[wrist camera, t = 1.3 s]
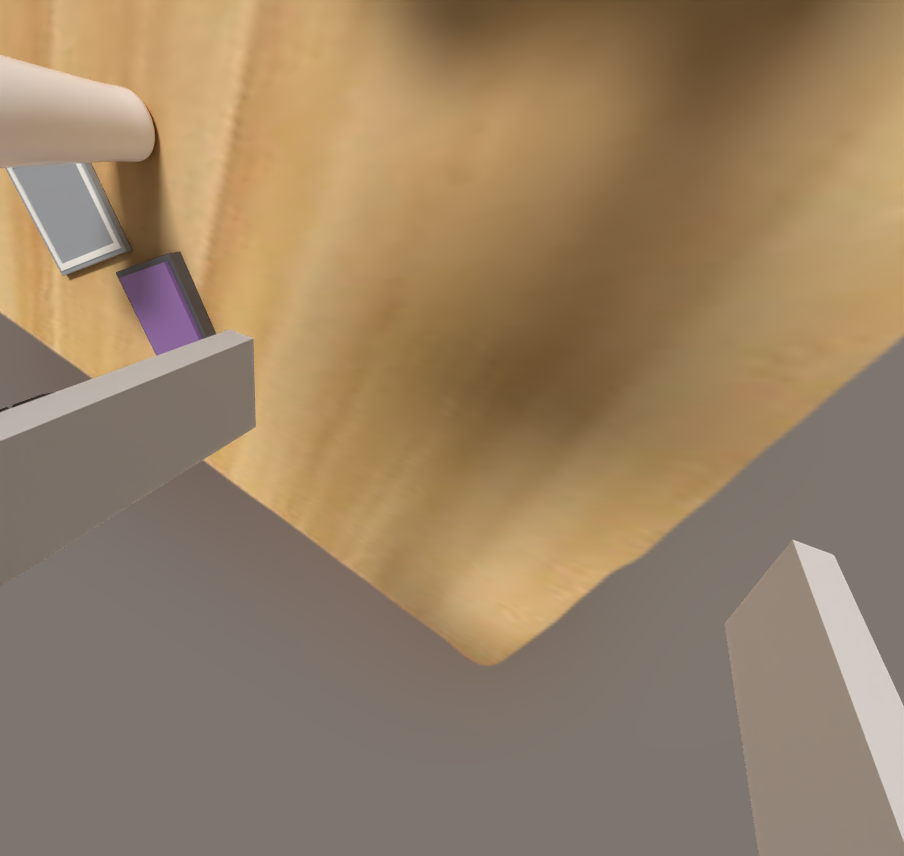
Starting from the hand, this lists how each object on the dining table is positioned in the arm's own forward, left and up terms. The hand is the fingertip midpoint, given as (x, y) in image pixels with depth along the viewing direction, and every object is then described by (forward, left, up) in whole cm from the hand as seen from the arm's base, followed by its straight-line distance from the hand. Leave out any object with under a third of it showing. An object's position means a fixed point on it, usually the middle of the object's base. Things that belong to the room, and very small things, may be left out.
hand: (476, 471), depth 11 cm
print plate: (-17, -47, -25) cm, 56 cm away
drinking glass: (-20, -35, -26) cm, 48 cm away
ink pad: (-5, -40, -25) cm, 47 cm away
